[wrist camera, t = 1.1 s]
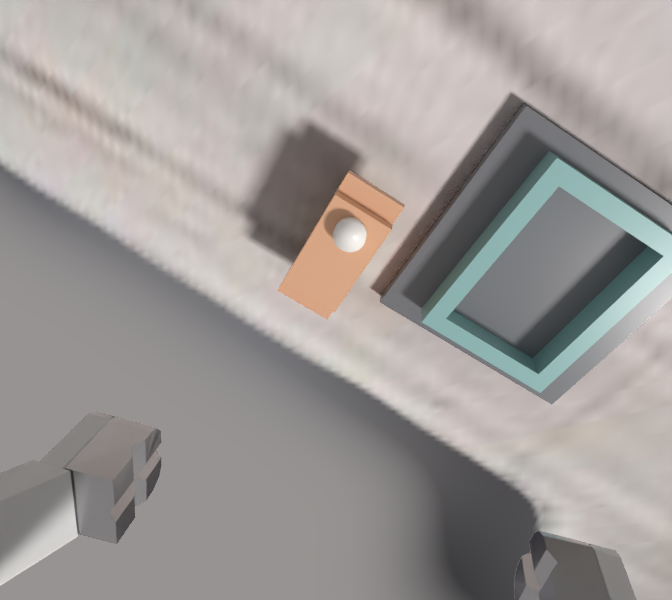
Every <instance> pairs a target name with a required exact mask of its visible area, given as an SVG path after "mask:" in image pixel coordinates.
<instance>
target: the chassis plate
mask: <svg viewBox="0 0 672 600" xmlns="http://www.w3.org/2000/svg"><path fill="white" fill-rule="evenodd" d="M671 299H672V205H671V204H669V203H668V202H666V201H665V200H663V199H662V198H661V197H659V196H658V195H656V194H655V193H653V192H652V191H650V190H649V189H647V188H646V187H644V186H643V185H642V184H640V183H639V182H637V181H636V180H634V179H633V178H631V177H630V176H628V175H627V174H626V173H624V172H623V171H621V170H620V169H618V168H617V167H615V166H614V165H612V164H611V163H609V162H608V161H607V160H605V159H604V158H602V157H601V156H599V155H598V154H596V153H595V152H593V151H592V150H591V149H589V148H588V147H586V146H585V145H583V144H582V143H580V142H579V141H577V140H576V139H575V138H573V137H572V136H570V135H569V134H567V133H566V132H564V131H563V130H561V129H560V128H558V127H557V126H556V125H554V124H553V123H551V122H550V121H548V120H547V119H545V118H544V117H542V116H541V115H540V114H538V113H537V112H535V111H534V110H532V109H531V108H529V107H528V106H526V105H525V104H523V105H522V106H521V108H520V109H519V110H518V112H517V113H516V114H515V116H514V117H513V118H512V120H511V121H510V122H509V124H508V125H507V126H506V128H505V129H504V131H503V132H502V133H501V135H500V136H499V137H498V139H497V140H496V141H495V143H494V144H493V145H492V147H491V148H490V149H489V151H488V152H487V153H486V155H485V156H484V158H483V159H482V160H481V162H480V163H479V164H478V166H477V167H476V168H475V170H474V171H473V172H472V174H471V175H470V176H469V178H468V179H467V180H466V182H465V183H464V184H463V186H462V187H461V189H460V190H459V191H458V193H457V194H456V195H455V197H454V198H453V199H452V201H451V202H450V203H449V205H448V206H447V207H446V209H445V210H444V211H443V213H442V214H441V216H440V217H439V218H438V220H437V221H436V222H435V224H434V225H433V226H432V228H431V229H430V230H429V232H428V233H427V234H426V236H425V237H424V238H423V240H422V241H421V243H420V244H419V245H418V247H417V248H416V249H415V251H414V252H413V253H412V255H411V256H410V257H409V259H408V260H407V261H406V263H405V264H404V265H403V267H402V268H401V270H400V271H399V272H398V274H397V275H396V276H395V278H394V279H393V280H392V282H391V283H390V284H389V286H388V287H387V288H386V290H385V291H384V292H383V294H382V295H381V299H380V302H381V303H382V304H384V305H386V306H387V307H389V308H391V309H392V310H394V311H396V312H397V313H399V314H401V315H402V316H404V317H406V318H407V319H409V320H411V321H412V322H414V323H416V324H418V325H419V326H421V327H423V328H424V329H426V330H428V331H429V332H431V333H433V334H434V335H436V336H438V337H439V338H441V339H443V340H444V341H446V342H448V343H449V344H451V345H453V346H454V347H456V348H458V349H460V350H461V351H463V352H465V353H466V354H468V355H470V356H471V357H473V358H475V359H476V360H478V361H480V362H481V363H483V364H485V365H486V366H488V367H490V368H491V369H493V370H495V371H497V372H498V373H500V374H502V375H503V376H505V377H507V378H508V379H510V380H512V381H513V382H515V383H517V384H518V385H520V386H522V387H523V388H525V389H527V390H528V391H530V392H532V393H533V394H535V395H537V396H539V397H540V398H542V399H544V400H545V401H547V402H549V403H550V404H553V403H554V402H555V401H556V400H557V399H559V398H560V397H561V396H562V395H563V394H564V393H565V392H567V391H568V390H569V389H570V388H571V387H572V386H573V385H574V384H576V383H577V382H578V381H579V380H580V379H581V378H582V377H583V376H585V375H586V374H587V373H588V372H589V371H590V370H591V369H593V368H594V367H595V366H596V365H597V364H598V363H599V362H600V361H602V360H603V359H604V358H605V357H606V356H607V355H608V354H609V353H611V352H612V351H613V350H614V349H615V348H616V347H617V346H619V345H620V344H621V343H622V342H623V341H624V340H625V339H626V338H628V337H629V336H630V335H631V334H632V333H633V332H634V331H635V330H637V329H638V328H639V327H640V326H641V325H642V324H643V323H645V322H646V321H647V320H648V319H649V318H650V317H651V316H652V315H654V314H655V313H656V312H657V311H658V310H659V309H660V308H661V307H663V306H664V305H665V304H666V303H667V302H668V301H669V300H671Z"/></svg>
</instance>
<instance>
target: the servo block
mask: <svg viewBox="0 0 672 600" xmlns="http://www.w3.org/2000/svg"><path fill="white" fill-rule="evenodd" d="M403 209H404V204H403V203H401V202H399V201H398V200H396V199H395V198H393V197H391V196H390V195H388V194H387V193H385V192H384V191H382V190H380V189H379V188H377V187H376V186H374V185H372V184H371V183H369V182H368V181H366V180H364V179H363V178H361V177H360V176H358V175H357V174H355V173H353V172H352V171H350V170H349V172H348V173H347V175H345V177H344V178H343V180H342V182H341V183H340V185H339V187H338V188H337V190H336V192H335V193H334V195H333V197H332V198H331V200H330V202H329V203H328V205H327V207H326V208H325V210H324V212H323V213H322V215H321V217H320V218H319V220H318V222H317V223H316V225H315V227H314V228H313V230H312V232H311V233H310V235H309V237H308V238H307V240H306V242H305V243H304V245H303V247H302V249H301V250H300V252H299V254H298V255H297V257H296V259H295V261H294V263H293V264H292V266H291V268H290V270H289V272H288V273H287V275H286V277H285V278H284V280H283V282H282V283H281V285H280V287H279V289H278V291H279V292H281V293H283V294H284V295H286V296H288V297H290V298H291V299H293V300H295V301H296V302H298V303H300V304H302V305H303V306H305V307H307V308H309V309H310V310H312V311H314V312H315V313H317V314H319V315H321V316H322V317H324V318H326V319H328V317H329V316H330V314H331V313H332V311H333V312H335V311H336V309H337V308H338V306H339V305H340V303H341V302H342V301H343V299H344V298H345V296H346V295H347V293H348V292H349V291H350V289H351V288H352V286H353V285H354V283H355V282H356V280H357V279H358V278H359V276H360V275H361V273H362V272H363V270H364V269H365V267H366V266H367V265H368V263H369V262H370V260H371V259H372V257H373V256H374V255H375V253H376V252H377V250H378V249H379V247H380V246H381V244H382V243H383V242H384V240H385V239H386V237H387V236H388V234H389V233H390V231H391V230H392V225H393V223H394V222H395V220H396V219H397V217H398V216H399V214H400V213H401V212H402V210H403Z"/></svg>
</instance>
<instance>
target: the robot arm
mask: <svg viewBox="0 0 672 600" xmlns="http://www.w3.org/2000/svg"><path fill="white" fill-rule="evenodd" d="M160 444H161V431H160V430H158V429H157V428H153V427H150V426H147V425H143V424H140V423H137V422H133V421H129V420H126V419H123V418H119V417H115V416H112V415H108V414H105V413H102V412H98V411H94V412H92V413H89V414H88V415H87V416H85V417H84V418H83V419H82V421H80V422H79V423H78V424H77V425H76V426H75V427H74V428H73V429H72V430H71V431H70V432H69V433H68V434H67V435H66V436H65V437H64V438H63V439H62V440H61V441H60V442H59V443H58V444H57V445H56V446H55V447H54V448H53V449H52V450H51V451H50V452H49V453H48V454H47V455H46V456H45V457H44V458H43V459H42V460H41V461H40V462H38V461H34V460H32V461H30V462H27V463H25V464H22V465H19V466H17V467H14V468H12V469H9V470H7V471H4V472H2V473H0V585H2V584H4V583H5V582H7V581H8V580H10V579H11V578H13V577H15V576H16V575H18V574H19V573H21V572H23V571H24V570H26V569H27V568H29V567H30V566H32V565H33V564H35V563H37V562H38V561H40V560H42V559H43V558H44V557H46V556H48V555H49V554H51V553H52V552H54V551H56V550H57V549H59V548H60V547H62V546H64V545H65V544H67V543H68V542H70V541H71V540H73V539H75V538H76V537H77V536H78V534H80V535H84V536H88V537H92V538H96V539H99V540H103V541H108V542H111V543H115V544H117V543H118V542H119V540H120V539H121V537H122V536H123V534H124V533H125V531H126V530H127V529H128V527H129V525H130V524H131V523H132V521H133V520H134V518H135V506H137V505H139V504H141V503H142V502H144V501H146V500H147V499H148V497H149V496H150V494H151V493H152V491H153V489H154V487H155V485H156V483H157V480H158V478H159V475H160V470H161V456H160V455H159V453H158V452H157V450H156V449H157V448H158V446H159V445H160ZM529 544H530V550H531V552H530V553H528V554H526V555H523V556H522V557H521V559H520V561H519V563H518V565H517V569H516V574H515V579H514V595H515V600H636V597H635V594H634V592H633V589H632V586H631V584H630V581H629V578H628V576H627V573H626V570H625V568H624V565H623V563H622V560H621V557H620V555H619V554H618V553H617V552H616V551H615V550H612V549H608V548H604V547H600V546H596V545H592V544H587V543H585V542H581V541H577V540H574V539H570V538H566V537H562V536H558V535H554V534H550V533H546V532H542V531H537V532H535V533H534V534H533V536H532V537H531V539H530V541H529Z"/></svg>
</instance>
